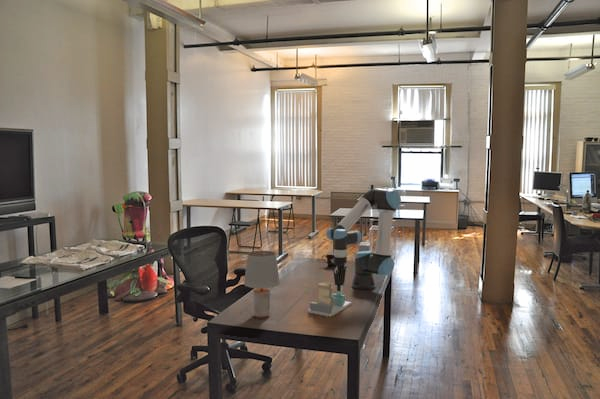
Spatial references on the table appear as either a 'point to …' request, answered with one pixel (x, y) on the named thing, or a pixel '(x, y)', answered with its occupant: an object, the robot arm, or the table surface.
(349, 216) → the robot arm
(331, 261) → the coffee mug
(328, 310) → the bed
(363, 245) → the hard drive box
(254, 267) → the lamp
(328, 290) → the birch block
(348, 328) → the table surface
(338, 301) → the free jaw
